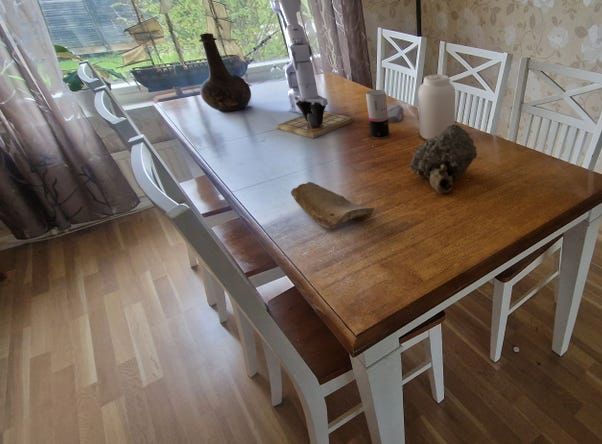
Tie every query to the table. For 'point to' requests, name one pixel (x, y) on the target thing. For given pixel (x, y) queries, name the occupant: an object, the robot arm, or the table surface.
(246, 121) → the table surface
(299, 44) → the robot arm
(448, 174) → the encrusted bottle
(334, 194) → the fossil
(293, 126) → the board
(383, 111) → the beverage can
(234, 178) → the table surface
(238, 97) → the glass bottle
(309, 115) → the black canister
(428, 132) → the white jar
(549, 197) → the table surface
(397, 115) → the stone block
